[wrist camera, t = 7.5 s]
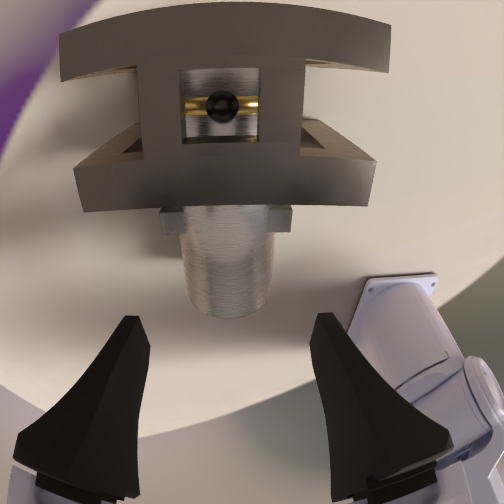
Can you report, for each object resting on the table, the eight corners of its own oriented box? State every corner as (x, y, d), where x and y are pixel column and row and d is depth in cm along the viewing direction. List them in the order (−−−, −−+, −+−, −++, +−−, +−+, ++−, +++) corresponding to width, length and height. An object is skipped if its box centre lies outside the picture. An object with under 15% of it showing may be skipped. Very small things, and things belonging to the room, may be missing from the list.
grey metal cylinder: (273, 260, 21) (284, 319, 16) (185, 262, 20) (175, 321, 16) (286, 31, 12) (312, 14, 7) (167, 34, 11) (136, 19, 7)
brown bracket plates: (317, 149, 16) (367, 206, 10) (137, 152, 15) (83, 212, 9) (325, 39, 12) (391, 25, 6) (130, 42, 11) (59, 34, 5)
